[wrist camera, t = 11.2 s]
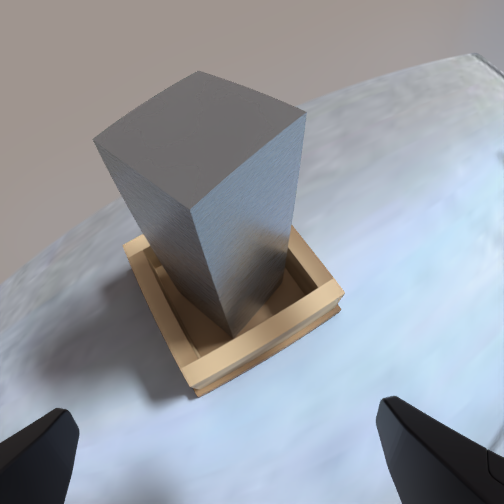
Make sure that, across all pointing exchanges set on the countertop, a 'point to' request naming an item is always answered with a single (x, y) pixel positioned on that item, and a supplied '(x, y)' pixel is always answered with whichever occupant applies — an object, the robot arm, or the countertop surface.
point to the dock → (256, 330)
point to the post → (211, 189)
